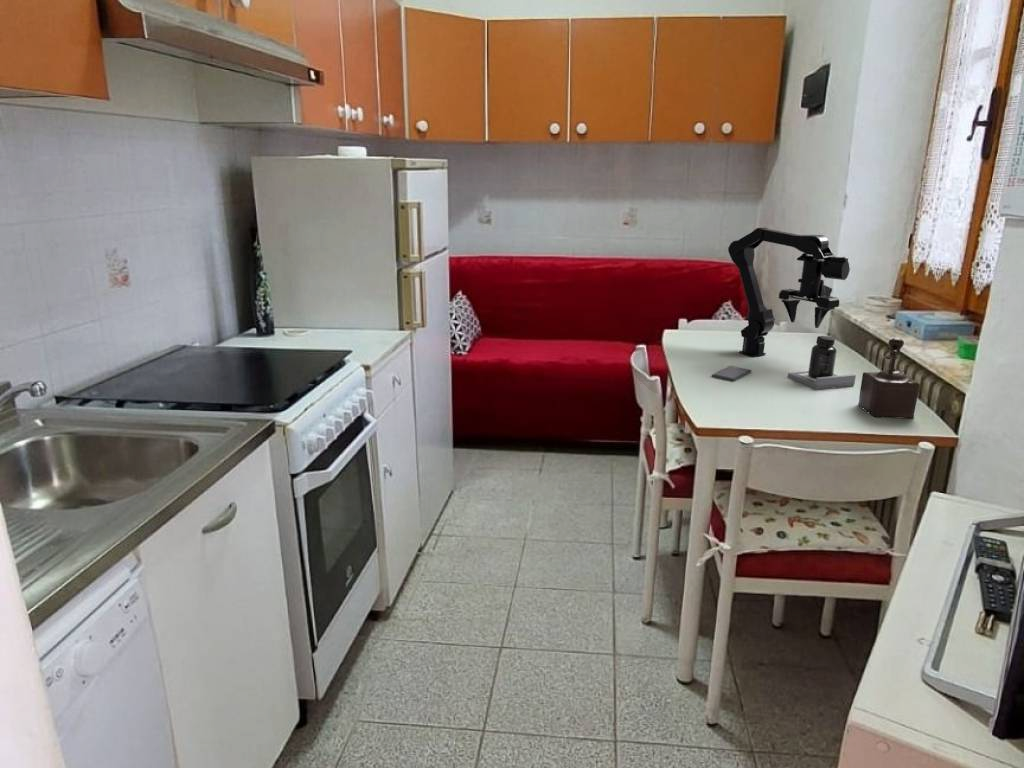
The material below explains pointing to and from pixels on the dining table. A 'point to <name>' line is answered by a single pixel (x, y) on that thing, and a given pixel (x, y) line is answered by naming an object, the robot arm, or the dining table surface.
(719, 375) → the phone
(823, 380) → the tray
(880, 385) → the pepper mill
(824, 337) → the supplement bottle
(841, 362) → the dining table surface
